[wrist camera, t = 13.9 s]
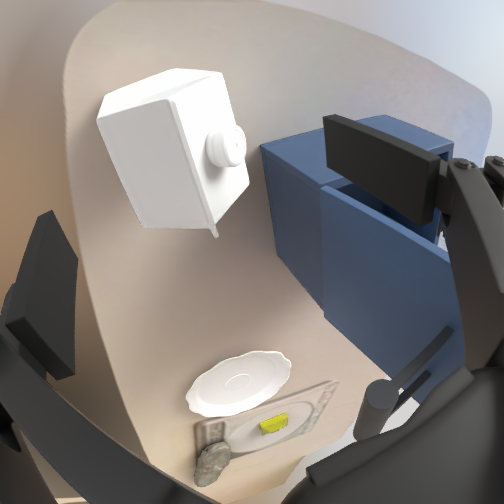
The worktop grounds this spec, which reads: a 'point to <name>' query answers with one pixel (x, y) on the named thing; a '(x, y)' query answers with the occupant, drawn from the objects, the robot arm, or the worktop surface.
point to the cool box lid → (389, 304)
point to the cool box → (308, 195)
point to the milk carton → (176, 148)
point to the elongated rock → (212, 463)
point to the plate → (238, 383)
